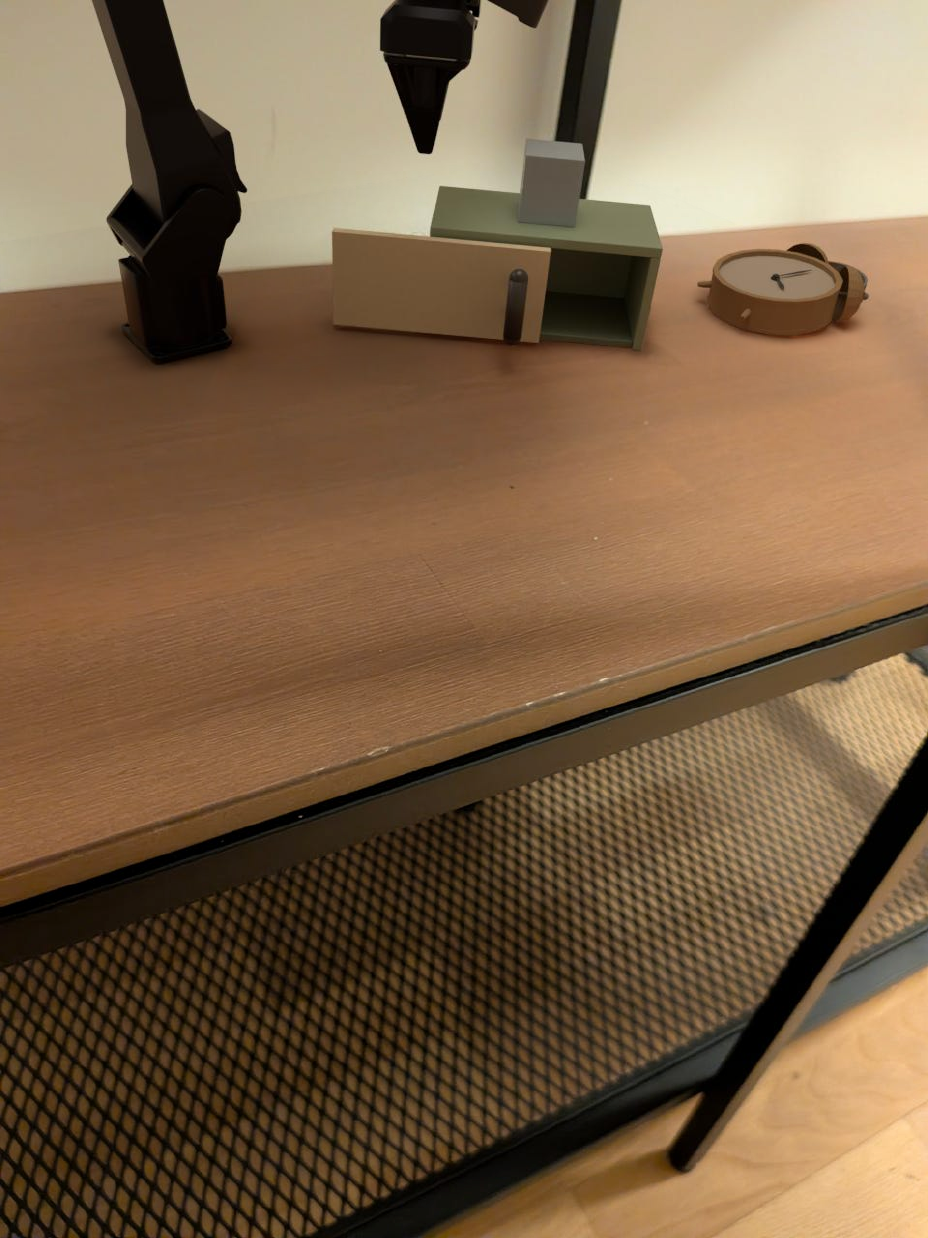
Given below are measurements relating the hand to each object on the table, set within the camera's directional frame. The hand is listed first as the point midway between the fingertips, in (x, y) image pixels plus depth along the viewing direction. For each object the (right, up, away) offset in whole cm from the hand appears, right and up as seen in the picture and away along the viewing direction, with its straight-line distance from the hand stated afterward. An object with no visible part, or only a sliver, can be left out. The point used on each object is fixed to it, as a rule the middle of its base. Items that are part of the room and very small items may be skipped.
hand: (429, 136), depth 76 cm
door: (0, -16, +1) cm, 16 cm away
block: (+9, -6, +1) cm, 11 cm away
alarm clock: (+32, -10, +12) cm, 36 cm away
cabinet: (+9, -12, +7) cm, 16 cm away
